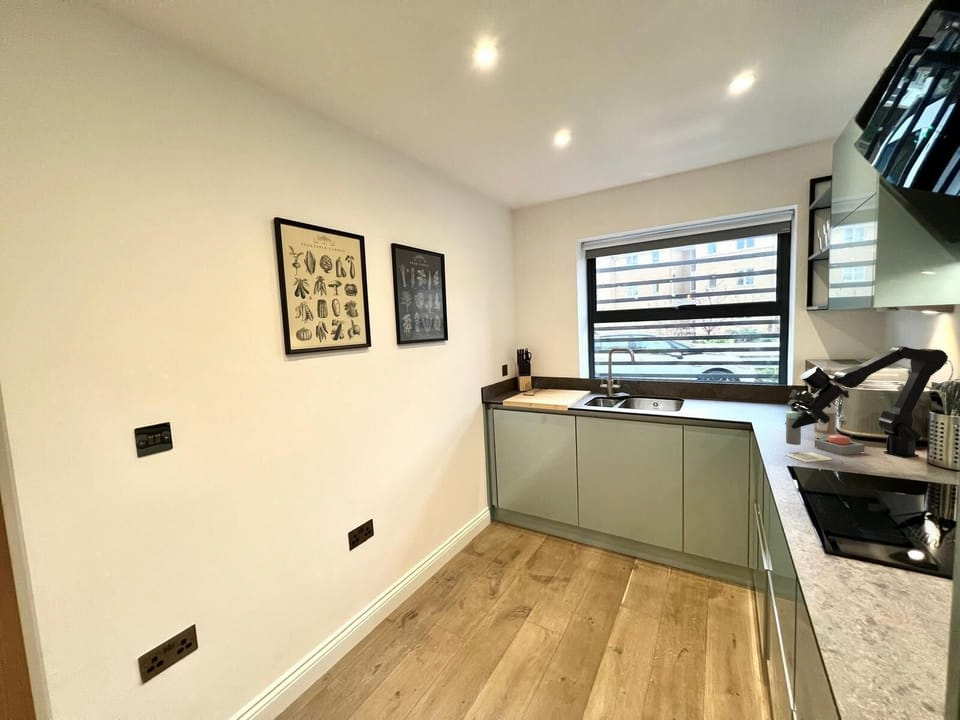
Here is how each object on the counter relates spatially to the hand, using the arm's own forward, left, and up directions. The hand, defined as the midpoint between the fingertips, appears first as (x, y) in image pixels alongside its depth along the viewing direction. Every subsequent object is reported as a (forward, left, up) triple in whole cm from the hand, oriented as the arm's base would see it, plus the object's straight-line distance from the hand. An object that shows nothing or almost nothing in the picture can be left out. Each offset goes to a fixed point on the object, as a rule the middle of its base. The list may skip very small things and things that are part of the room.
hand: (789, 426), depth 151 cm
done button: (-4, -18, -8) cm, 20 cm away
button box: (-4, -18, -10) cm, 21 cm away
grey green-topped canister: (-1, -1, -7) cm, 7 cm away
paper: (-8, 0, -10) cm, 13 cm away
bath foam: (+10, -28, -10) cm, 31 cm away
